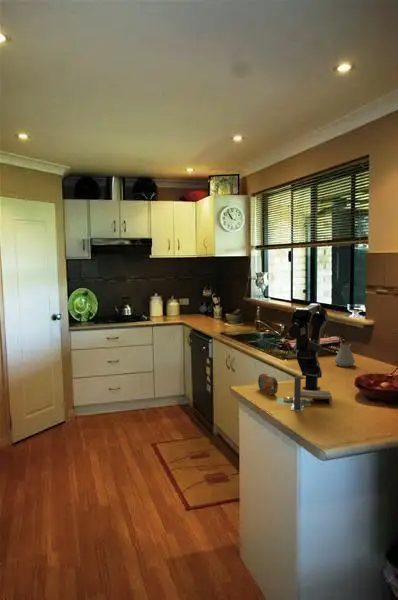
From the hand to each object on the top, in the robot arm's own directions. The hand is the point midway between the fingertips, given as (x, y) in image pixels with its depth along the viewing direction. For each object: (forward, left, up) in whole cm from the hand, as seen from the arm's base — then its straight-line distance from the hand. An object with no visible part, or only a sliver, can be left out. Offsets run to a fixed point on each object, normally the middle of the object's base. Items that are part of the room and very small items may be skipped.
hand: (301, 369), depth 213 cm
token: (+10, -1, -13) cm, 16 cm away
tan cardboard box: (+3, +8, -13) cm, 16 cm away
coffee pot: (-76, -16, -13) cm, 79 cm away
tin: (+5, -15, -13) cm, 21 cm away
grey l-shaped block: (+12, +6, -13) cm, 19 cm away
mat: (+9, +2, -13) cm, 16 cm away
